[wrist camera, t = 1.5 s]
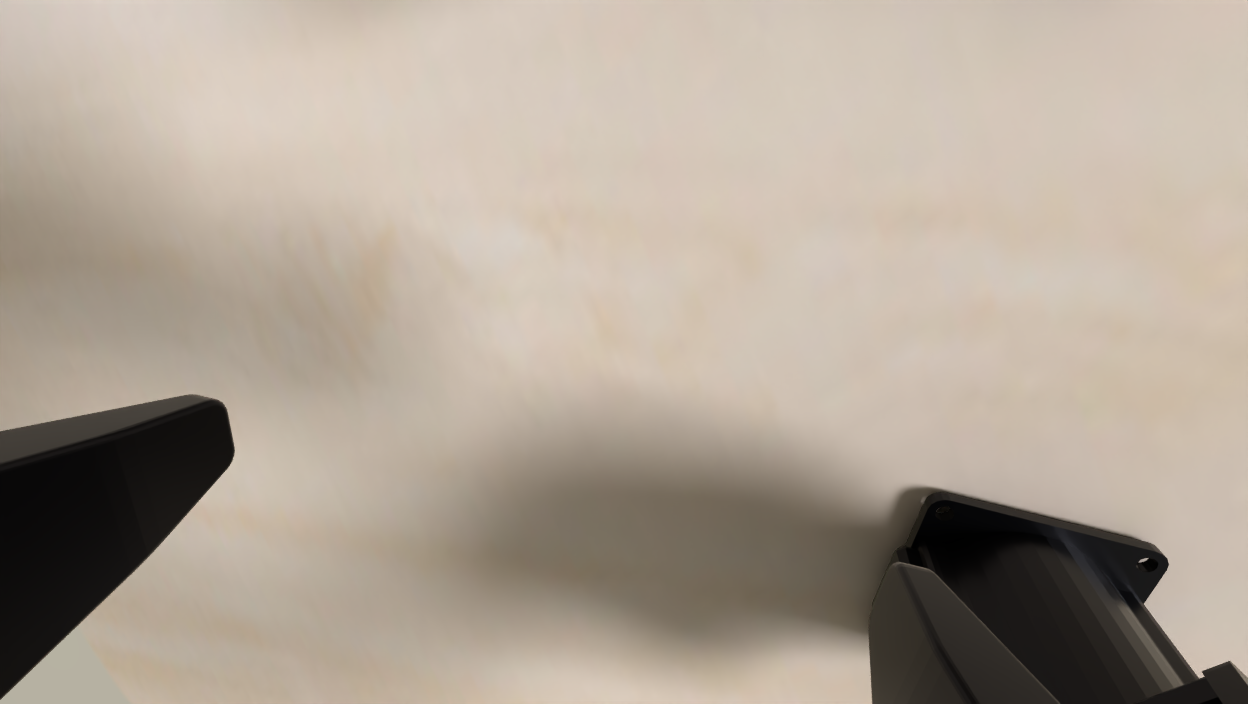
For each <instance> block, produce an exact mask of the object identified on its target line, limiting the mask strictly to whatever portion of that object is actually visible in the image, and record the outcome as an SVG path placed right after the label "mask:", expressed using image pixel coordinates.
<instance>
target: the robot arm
mask: <svg viewBox="0 0 1248 704" xmlns="http://www.w3.org/2000/svg"><path fill="white" fill-rule="evenodd" d="M234 452H235V448H234V442H233V437H232V432H231V427H230V422H229V417H228V412H227V409H226V407H225V405H224V404H223V403H222V402H220V401H219V400H217V399H213V398H208V397H204V396H200V395H184V396H179V397H174V398H169V399H163V400H158V401H153V402H148V403H143V404H138V405H133V406H128V407H123V408H118V409H112V410H107V411H102V412H97V413H92V414H87V415H82V416H77V417H72V418H66V419H61V420H56V421H51V422H46V423H41V424H36V425H31V426H26V427H21V428H15V429H10V430H5V431H0V700H1V699H2V698H3V697H4V696H5V695H6V694H7V693H8V692H9V691H10V690H11V689H12V688H13V687H14V686H15V685H16V684H17V683H18V682H19V681H20V680H21V679H23V678H24V677H25V676H26V675H27V674H28V673H29V672H30V671H31V670H32V669H33V668H34V667H35V666H36V665H37V664H38V663H39V662H40V661H41V660H42V659H43V658H44V657H45V656H46V655H48V653H49V652H51V651H52V650H53V649H54V648H55V647H56V646H57V645H58V644H59V643H60V642H61V641H62V640H63V639H64V638H65V637H66V636H67V635H68V634H69V633H70V632H71V631H72V630H73V629H75V628H76V627H77V626H78V625H79V624H80V623H81V622H82V621H83V620H84V619H85V618H86V617H87V616H88V615H89V614H90V613H91V612H92V611H93V610H94V609H95V608H96V607H98V606H99V605H100V604H101V603H102V602H103V601H104V600H105V599H106V598H107V597H108V596H109V595H110V594H111V593H112V592H113V591H114V590H115V589H116V588H117V587H118V586H119V585H120V584H121V583H123V582H124V581H125V580H126V579H127V578H128V577H129V576H130V575H131V574H132V573H133V572H134V571H135V570H136V569H137V568H138V567H139V566H140V565H141V564H142V563H143V562H144V561H145V560H146V559H147V558H148V557H149V556H150V555H151V554H152V553H153V552H154V551H155V549H156V548H157V547H158V546H159V545H160V544H161V543H162V542H163V541H164V540H165V538H166V537H167V536H168V535H169V534H170V533H171V532H172V531H173V529H174V528H175V527H176V526H177V525H178V524H179V523H180V522H181V520H182V519H183V518H184V517H185V516H186V515H187V514H188V513H189V511H190V510H191V509H192V508H193V507H194V506H195V505H196V504H197V502H198V501H199V500H200V499H201V498H202V497H203V496H204V494H205V493H206V492H207V491H208V490H209V489H210V488H211V487H212V485H213V484H214V483H215V482H216V481H217V480H218V479H219V478H220V476H221V475H222V474H223V473H224V472H225V471H226V470H227V468H228V467H229V466H230V464H231V462H232V460H233V457H234ZM941 507H949V508H950V509H949V510H948V511H947V512H944V513H938V512H936V511H937V510H938V508H941ZM1144 558H1149V559H1148V560H1147V561H1145V562H1141V563H1138V562H1139V561H1140V560H1141V559H1144ZM1168 565H1169V563H1168V559H1167V558H1166V557H1165V556H1164V555H1163V553H1162V552H1161V551H1160V550H1159V549H1158V548H1157V547H1156V546H1155V545H1153V544H1151V543H1148V542H1145V541H1141V540H1137V539H1132V538H1128V537H1124V536H1120V535H1116V534H1112V533H1108V532H1104V531H1100V530H1096V529H1092V528H1088V527H1084V526H1080V525H1076V524H1072V523H1068V522H1064V521H1060V520H1056V519H1052V518H1048V517H1044V516H1039V515H1035V514H1031V513H1027V512H1023V511H1019V510H1015V509H1011V508H1007V507H1003V506H999V505H995V504H991V503H987V502H983V501H979V500H975V499H971V498H967V497H963V496H959V495H955V494H951V493H945V492H938V493H934V494H932V495H930V496H929V497H927V499H926V500H925V501H924V504H923V506H922V508H921V511H920V513H919V515H918V518H917V520H916V522H915V524H914V527H913V529H912V531H911V534H910V536H909V538H908V540H907V543H906V545H905V546H901V547H900V548H898V549H897V550H895V552H894V554H893V556H892V559H891V561H890V563H889V566H888V568H887V570H886V573H885V575H884V577H883V580H882V582H881V584H880V587H879V589H878V591H877V594H876V596H875V598H874V601H873V603H872V610H871V614H870V619H869V650H870V669H871V688H872V704H1248V678H1247V677H1246V676H1245V675H1244V674H1243V673H1242V672H1241V671H1240V670H1239V669H1238V668H1237V667H1236V666H1235V665H1234V664H1233V663H1232V662H1231V661H1228V662H1225V663H1223V664H1220V665H1217V666H1215V667H1212V668H1210V669H1207V670H1204V671H1202V673H1203V675H1204V676H1205V677H1203V678H1200V679H1199V678H1198V677H1197V675H1196V674H1195V673H1194V671H1193V670H1192V669H1191V667H1190V666H1189V664H1188V663H1187V662H1186V660H1185V659H1184V658H1183V656H1182V655H1181V654H1180V652H1179V651H1178V650H1177V648H1176V647H1175V646H1174V644H1173V643H1172V642H1171V640H1170V639H1169V638H1168V636H1167V635H1166V634H1165V632H1164V631H1163V630H1162V628H1161V627H1160V626H1159V624H1158V623H1157V622H1156V620H1155V619H1154V618H1153V616H1152V615H1151V614H1150V612H1149V611H1148V610H1147V608H1146V607H1145V605H1144V603H1145V601H1146V600H1147V598H1148V597H1149V595H1150V594H1151V592H1152V591H1153V589H1154V588H1155V587H1156V585H1157V584H1158V582H1159V581H1160V579H1161V578H1162V576H1163V575H1164V573H1165V572H1166V571H1167V568H1168Z"/></svg>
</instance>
